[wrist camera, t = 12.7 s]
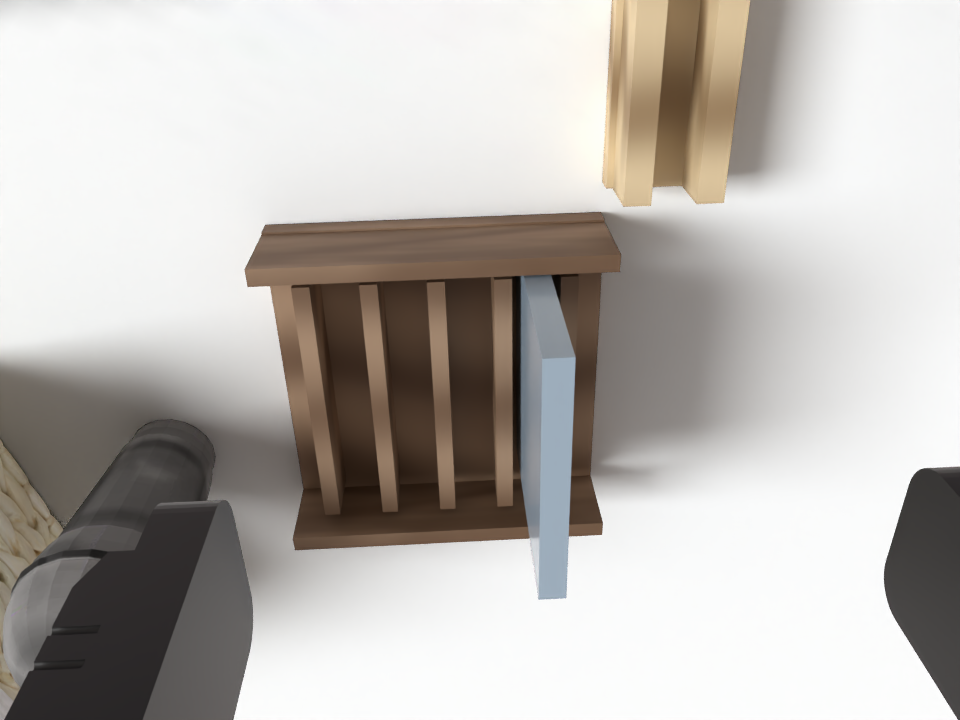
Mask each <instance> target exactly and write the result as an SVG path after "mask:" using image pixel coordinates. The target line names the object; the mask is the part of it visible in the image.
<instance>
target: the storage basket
mask: <svg viewBox="0 0 960 720" xmlns="http://www.w3.org/2000/svg"><path fill="white" fill-rule="evenodd" d="M62 531H63V528H62V526H61V525H60V524H59V522H58V521H57V520H56V519H55V517H53V516H52V515H50V511H49V509H48V508H47V506H46V504H45V503H44V501H43V500H42V498H41V497H40V496H39V494H38V493H37V492H36V490H35V489H34V488H33V487H32V486H31V485H30V483H29V482H28V478H27V477H26V475H25V473H24V472H23V470H22V469H21V468H20V466H19V465H18V463H17V462H16V461H15V459H14V458H13V457H12V456H11V454H10V453H9V452H8V450H7V449H6V448H5V447H4V446H3V443H2V441H1V440H0V720H4V719H5V717H6V715H7V713H8V711H9V709H10V707H11V705H12V703H13V702H14V700H15V698H16V696H17V694H18V692H19V690H20V687H19V686H18V684H17V683H16V682H15V681H14V679H13V677H12V674H11V672H10V670H9V668H8V666H7V663H6V661H5V659H4V653H3V621H4V616H5V612H6V608H7V606H8V604H9V602H10V596H11V591H12V588H13V586H14V584H15V582H16V581H17V579H18V577H19V575H20V573H21V572H22V571H23V570H24V569H26V568H27V567H28V566H30V565H31V564H32V563H33V561H34V560H35V559H36V558H37V557H38V556H39V555H40V553H41V552H42V551H43V550H44V549H45V548H46V547H47V546H48V545H49V544H50V543H52V542H53V541H54V540H56V539H57V538H58V536H59V535H60V534H61V532H62Z"/></svg>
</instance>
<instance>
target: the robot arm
mask: <svg viewBox="0 0 960 720" xmlns="http://www.w3.org/2000/svg"><path fill="white" fill-rule="evenodd" d="M884 585H885V592H886V597H887V601H888V604H889V607H890V609H891V612H892V614H893V616H894V618H895V620H896V621H897V623H898V625H899V626H900V628H901V629H902V631H903V633H904V634H905V636H906V637H907V639H908V641H909V642H910V644H911V645H912V647H913V648H914V650H915V652H916V653H917V655H918V656H919V658H920V660H921V661H922V663H923V664H924V666H925V668H926V669H927V671H928V672H929V674H930V676H931V677H932V679H933V680H934V682H935V684H936V685H937V687H938V688H939V690H940V692H941V693H942V695H943V696H944V698H945V700H946V701H947V703H948V704H949V706H950V708H951V709H952V711H953V712H954V714H955V716H956V717H957V719H958V720H960V467H942V468H924V469H921V470H919V471H917V472H916V473H915V474H914V476H913V477H912V479H911V481H910V484H909V487H908V490H907V493H906V497H905V500H904V503H903V507H902V510H901V513H900V517H899V520H898V523H897V526H896V530H895V533H894V536H893V540H892V543H891V546H890V550H889V553H888V556H887V560H886V563H885V569H884ZM252 630H253V607H252V597H251V592H250V587H249V583H248V578H247V574H246V569H245V565H244V561H243V556H242V552H241V547H240V543H239V538H238V534H237V529H236V525H235V520H234V516H233V512H232V509H231V506H230V505H229V503H228V502H227V501H226V500H215V501H194V502H173V503H160V504H158V505H157V506H156V507H155V508H154V509H153V511H152V513H151V515H150V517H149V519H148V522H147V524H146V526H145V528H144V530H143V533H142V535H141V537H140V539H139V542H138V544H137V546H136V548H135V550H128V551H109V552H108V553H107V554H106V555H105V556H104V557H103V558H102V559H101V560H100V561H99V562H98V563H97V564H96V565H95V566H94V567H93V568H92V569H90V570H89V571H88V572H87V573H86V574H85V575H84V576H83V577H82V578H81V579H80V580H79V581H78V582H77V583H76V584H75V585H74V586H73V587H72V589H71V591H70V593H69V595H68V597H67V599H66V601H65V602H64V604H63V606H62V608H61V610H60V612H59V614H58V616H57V618H56V620H55V622H54V624H53V626H52V634H51V636H47V637H46V639H45V641H44V643H43V645H42V647H41V649H40V651H39V653H38V655H37V657H36V659H35V661H34V669H33V671H29V672H28V674H27V676H26V678H25V680H24V682H23V684H22V686H21V688H20V690H19V692H18V694H17V696H16V698H15V700H14V702H13V703H12V705H11V707H10V709H9V711H8V713H7V715H6V717H5V719H4V720H233V719H234V715H235V710H236V706H237V702H238V698H239V694H240V690H241V685H242V681H243V677H244V673H245V669H246V665H247V661H248V656H249V652H250V647H251V641H252Z"/></svg>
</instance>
